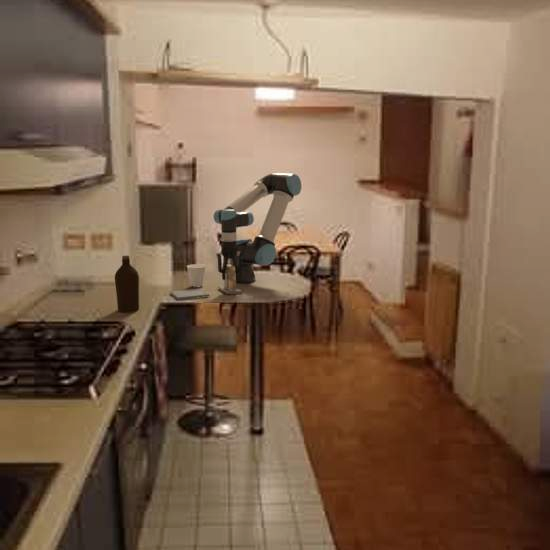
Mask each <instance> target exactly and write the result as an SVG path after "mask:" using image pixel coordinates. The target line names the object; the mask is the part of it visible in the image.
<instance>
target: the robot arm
mask: <svg viewBox="0 0 550 550" xmlns="http://www.w3.org/2000/svg"><path fill="white" fill-rule="evenodd" d="M301 191H302V181H301V178H300V177H299V175H298V174H296V173H292V172H289V173H284V172H273V173H269V174H267V175H265V176H263V177H262V178H260V179H259V180H257V181H256V182H255V183H254V184H253V186H252V187H251V188H250V189H249V190H247V191H245V192H244V193H243V194H242V195H240V196H239V197H238V198H237V199H235V200H234V201H233V202H231V203H230V204H229V205H227V206H226V207H225V208H223V209H217V210H215V212H214V213H213V220H214V222H215V223H216V224H218V225H221V227H220V229H221V251H220V252H217V253H216V254H215V255H216V259H217V271H218V273H220V274H221V280H223V286H226V287H227V274H226V267H227V264H228V262H229V259H230V265H232V266H234V267H235V287H237V284H247V283H252V282H255V281H256V274H255V272H254V271H255V270H254V268H253V265H257V266H268V265H270V264H273V262H274V260H275V259H276V256H277V248H276V247H275V246H276V242H274V241H275V239H276V237H277V233H278V231H279V228H280V226H281V222H282V220H283V218H284V215H285V213H286V211H287V207H288V205H289V203H290V202H292V201H294V196H298V195H300V194H301ZM269 195H273V199H272V200H271V202H270V203H271V204H270V206H269V209H268V211H267V213H266V216H265V219H264V220H263V224H262V226H261V229H260V231H259V234H258V235H256V236H255V237H254V239H252V238H250V237H249V238H248V237H246V238H237V229H238V228H241V227H242V228H243V227H244V228H245V227H249V226H252V225H253V223H254V220H255V219H254V217H255V216H254V214H253V212H252V211H247V210H248V209H249V208H250V207H251V206H253V205H254V204H255V203H257V202H258V201H259V200H261V199H262V198H267V197H268V196H269ZM222 256H223V260H222ZM222 261H223V263H222Z"/></svg>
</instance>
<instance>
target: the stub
mask: <svg viewBox="0 0 550 550" xmlns="http://www.w3.org/2000/svg"><path fill="white" fill-rule="evenodd" d="M226 274H227V287H226V286H224V285H218V286H217V289H218V288H219V289H220V290H219V289H218V290H219V291H221V290H222V291H223V292H222V291H221V292H222V293H224V292H225V293H226V294H225V293H224V294H225V295H227V294H230V295H237V294H238V295H239V294H243V290H242V289H239V288H238V287H237V286H235V267H234V266H232V265H231V263H229V264H228V263H227V267H226Z"/></svg>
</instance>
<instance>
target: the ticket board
mask: <svg viewBox="0 0 550 550" xmlns="http://www.w3.org/2000/svg"><path fill="white" fill-rule="evenodd" d="M169 293H171V294H172V295H173V296H174V297H175V299H176V300H177V301H185V300H194V298H195V299H198V298H197V297H203V296H209V297H210V294H209V292H207V291H206V290H204V289H203V288H202V287H198V288H190V289H189V288H188V289H180V290H171V291H170V292H169ZM171 294H170V295H171ZM172 295H171V296H172ZM173 296H172V297H173ZM174 297H173V298H174Z"/></svg>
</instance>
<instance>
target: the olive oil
mask: <svg viewBox="0 0 550 550" xmlns="http://www.w3.org/2000/svg"><path fill="white" fill-rule="evenodd" d="M121 257H122V259H121V263H122V264H121V265H120V267H119V268H118V269H117V270H116V272H115V274H114V283H115V284H114V285H115V294H116V302H117V311H118V312H120V313H134V311H135V312H137V310H138V311H139V310H140V289H139V288H140V284H139V283H140V275H139V272H138V271H137V269H135V267H133V266H132V264H131V259H130V256H129V255H122V256H121Z"/></svg>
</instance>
